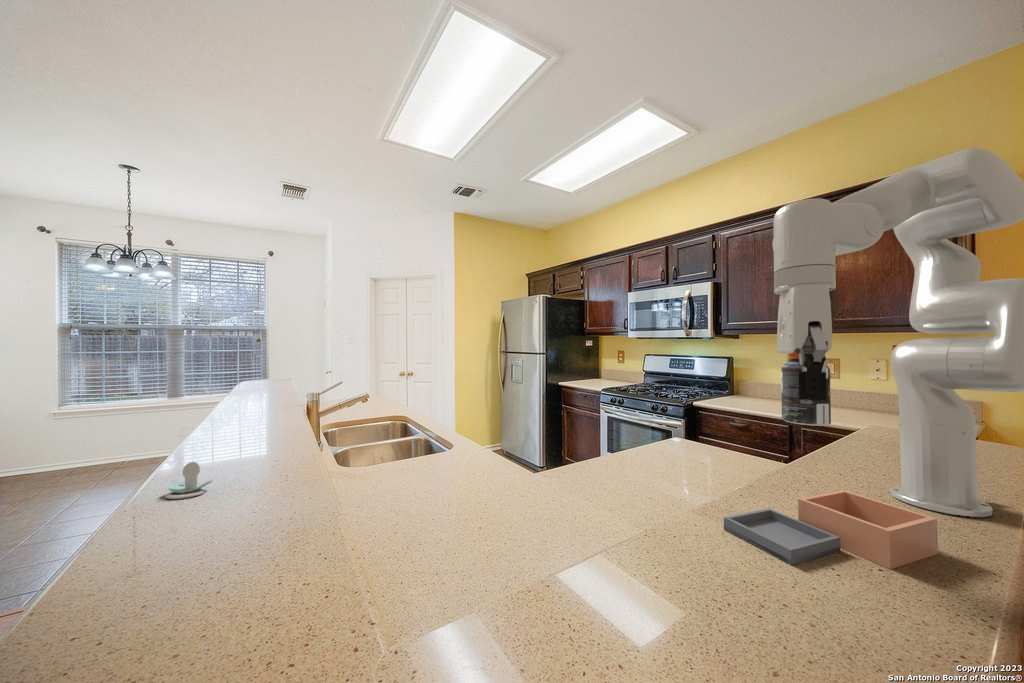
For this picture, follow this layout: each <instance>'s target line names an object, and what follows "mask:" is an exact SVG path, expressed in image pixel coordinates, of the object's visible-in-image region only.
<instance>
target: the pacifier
mask: <svg viewBox="0 0 1024 683" xmlns="http://www.w3.org/2000/svg"><path fill="white" fill-rule="evenodd" d="M200 473H201V465H200V464H199V463H198V462H197V461H196V462H195V461H191V462H188V463H187V464H185V465H184V466H183V469H182V476H183V478H184V482H183V481H171V482H169V483H168V485H167V489H168V490H169V491H170V492H169V493H166V494H165V495H164V498H166V499H169V500H179V499H180V500H181V499H186V498H187V499H189V498H194V497H197V496H200V495H202V494H203V493H205V490H204V489H202V488H204V487H206V486H207V485H209V484H211V483H212V482H213V481H214V479H212V478H211V479H210V480H208V481H205V482H202V483H200V484H199V483H198V476H199V474H200Z"/></svg>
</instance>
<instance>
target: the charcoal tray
mask: <svg viewBox="0 0 1024 683" xmlns="http://www.w3.org/2000/svg"><path fill="white" fill-rule="evenodd" d="M723 530H724V531H726V532H728V533H729V532H730V533H729V534H732V535H733V536H735V537H737V538H738V539H741V540H743V541H745V542H747V543H749V544H751V545H752V546H754V547H756V548H758V549H760V550H762V551H763V552H766V553H767V554H769V555H771V556H773V557H775V558H777V559H779V560H780V561H782V562H785V563H786V564H788V565H791V566H792V565H797V564H800V563H804V562H808V561H810V560H814V559H818V558H822V557H825V556H830V555H832V554H837V553H840V552H841V551H842V550H841V549H842V548H841V545H840V537H838V536H836V535H833V534H831V533H828V532H826V531H823V530H821V529H819V528H816V527H814V526H811V525H809V524H806V523H804V522H801V521H799V520H798V518H794V517H792V516H789V515H787V514H784V513H782V512H779V511H777V510H776V509H775V510H774V509H772V508H769V507H768V508H765V509H764V508H763V509H760V510H754V511H749V512H743V513H739V514H733V515H728V516H724V517H723Z"/></svg>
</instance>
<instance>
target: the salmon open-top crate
mask: <svg viewBox="0 0 1024 683" xmlns="http://www.w3.org/2000/svg"><path fill="white" fill-rule="evenodd" d="M797 514H798V518H797V520H799V521H801V522H804V523H806V524H809V525H811V526H814V527H816V528H819V529H821V530H823V531H826V532H828V533H831V534H833V535H836V536H838V537H840V545H841V549H842V550H845V551H847V552H848V553H851V554H854V555H856V556H859V557H861V558H863V559H866V560H868V561H870V562H872V563H875V564H877V565H879V566H882V567H883V568H886V569H889V570H893V569H895V568H898V567H902V566H904V565H908V564H912V563H915V562H917V561H920V560H922V559H923V560H924V559H926V558H929V557H933V556H936V555H939V541H938V540H939V537H938V532H939V531H938V518H936V517H933V516H930V515H927V514H925V513H920V512H917V511H913V510H911V509H906V508H904V507H900V506H898V505H894V504H890V503H887V502H884V501H880V500H877V499H873V498H870V497H868V496H863V495H860V494H857V493H854V492H851V491H848V490H844V489H841V490H836V491H832V492H826V493H821V494H815V495H810V496H806V497H805V496H804V497H801V498H797Z"/></svg>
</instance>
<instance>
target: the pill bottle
mask: <svg viewBox="0 0 1024 683" xmlns="http://www.w3.org/2000/svg"><path fill="white" fill-rule="evenodd" d="M803 351H812V350H803ZM789 360H790V361H789V362H788V363H787V362H786V363H784V364H783V365H782V367H781V376H780V378H781V383H780V385H781V386H780V387H781V390H780V391H781V418H782V420H783V421H784V422H787V423H791V424H795V425H801V426H802V425H806V426H817V427H821V426H822V427H823V426H829V425H831V423H832V415H831V414H832V413H831V412H832V411H831V407H832V406H831V403H832V402H831V399H832V398H831V369H830V367H829V366H828V365H827V364H826V400H804V399H800V398H798V372H801V370H800V362H799V354H798V350H796V351H795V352H794V353H789ZM806 361H807V357H806Z"/></svg>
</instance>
